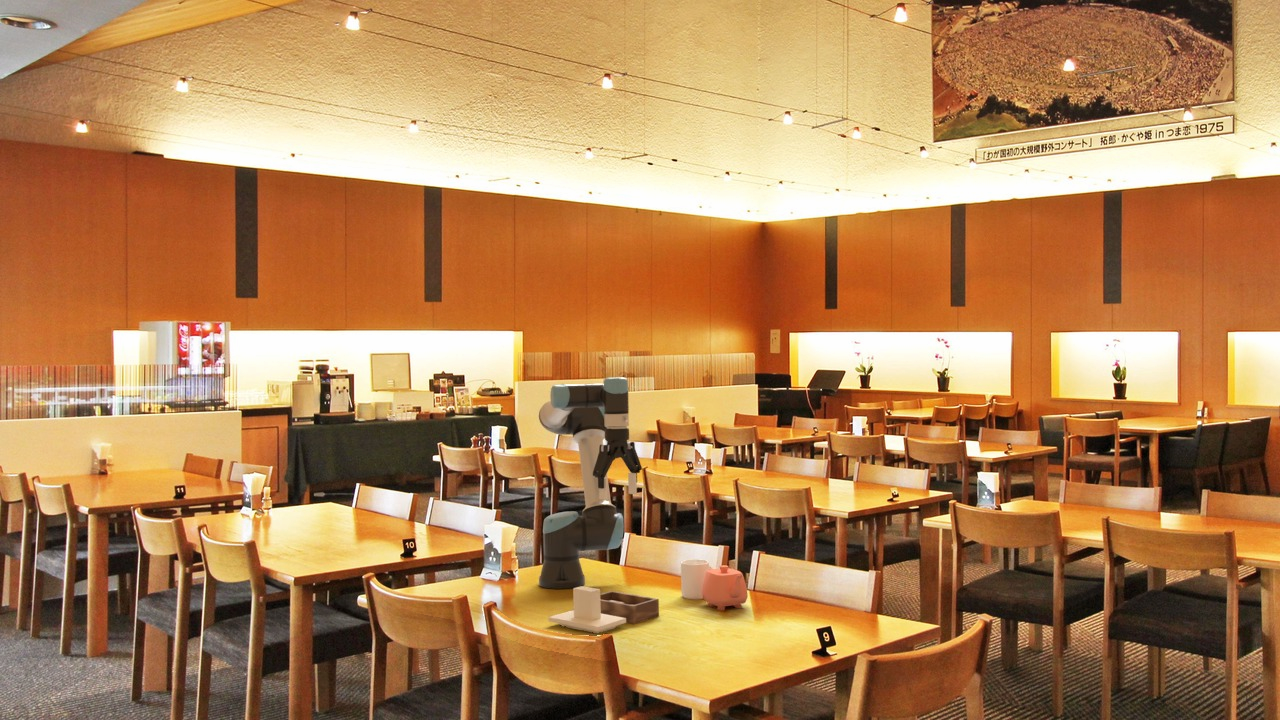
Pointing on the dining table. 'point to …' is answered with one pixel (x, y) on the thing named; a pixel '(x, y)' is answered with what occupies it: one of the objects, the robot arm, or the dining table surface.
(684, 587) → the mug
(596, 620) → the lid
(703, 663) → the dining table surface
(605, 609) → the bento box
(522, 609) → the dining table surface
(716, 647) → the dining table surface
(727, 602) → the teapot
